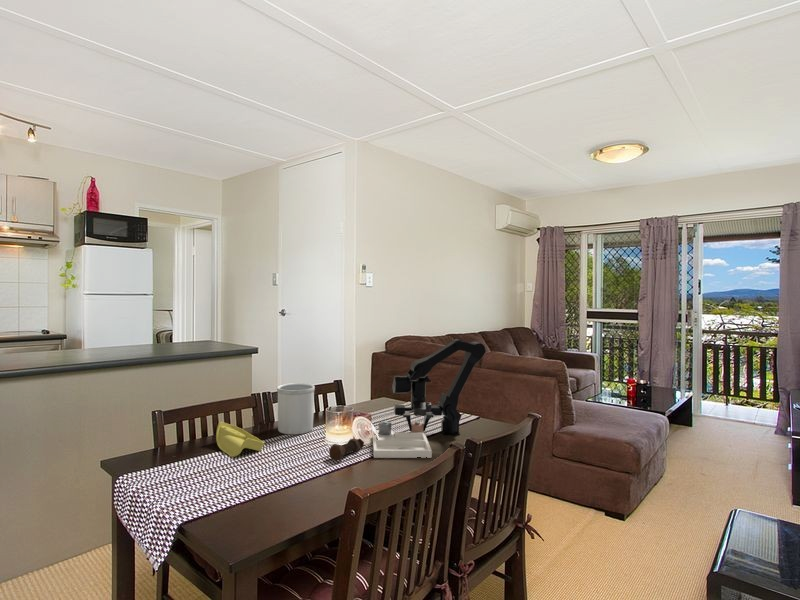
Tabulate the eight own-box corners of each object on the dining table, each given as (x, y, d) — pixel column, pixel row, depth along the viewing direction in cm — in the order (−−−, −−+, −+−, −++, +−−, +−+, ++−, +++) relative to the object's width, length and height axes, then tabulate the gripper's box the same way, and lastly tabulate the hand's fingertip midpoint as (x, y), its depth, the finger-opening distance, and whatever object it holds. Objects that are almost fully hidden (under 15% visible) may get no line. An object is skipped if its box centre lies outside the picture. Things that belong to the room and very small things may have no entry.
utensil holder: (268, 429, 186) (269, 386, 186) (297, 421, 198) (298, 381, 198) (292, 437, 177) (293, 392, 177) (321, 429, 189) (322, 386, 189)
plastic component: (267, 443, 163) (244, 437, 156) (257, 464, 162) (234, 458, 155) (238, 426, 177) (216, 420, 170) (229, 445, 175) (206, 439, 168)
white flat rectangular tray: (421, 431, 190) (421, 425, 190) (431, 457, 161) (431, 450, 161) (372, 431, 188) (372, 425, 188) (373, 457, 159) (374, 450, 159)
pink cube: (422, 432, 189) (422, 420, 189) (424, 436, 184) (424, 424, 184) (410, 432, 189) (410, 420, 189) (411, 435, 184) (411, 424, 184)
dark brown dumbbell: (362, 453, 169) (336, 464, 156) (352, 444, 171) (326, 454, 158) (369, 441, 167) (343, 451, 154) (360, 431, 169) (333, 441, 156)
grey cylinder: (390, 431, 187) (391, 420, 187) (391, 435, 182) (391, 423, 182) (378, 431, 187) (378, 419, 187) (378, 435, 182) (379, 423, 182)
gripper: (396, 397, 177) (395, 437, 178) (445, 397, 179) (443, 438, 179) (394, 390, 188) (393, 428, 189) (440, 391, 190) (438, 429, 190)
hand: (417, 431), depth 187 cm, fingers closed on pink cube, 5 cm apart
